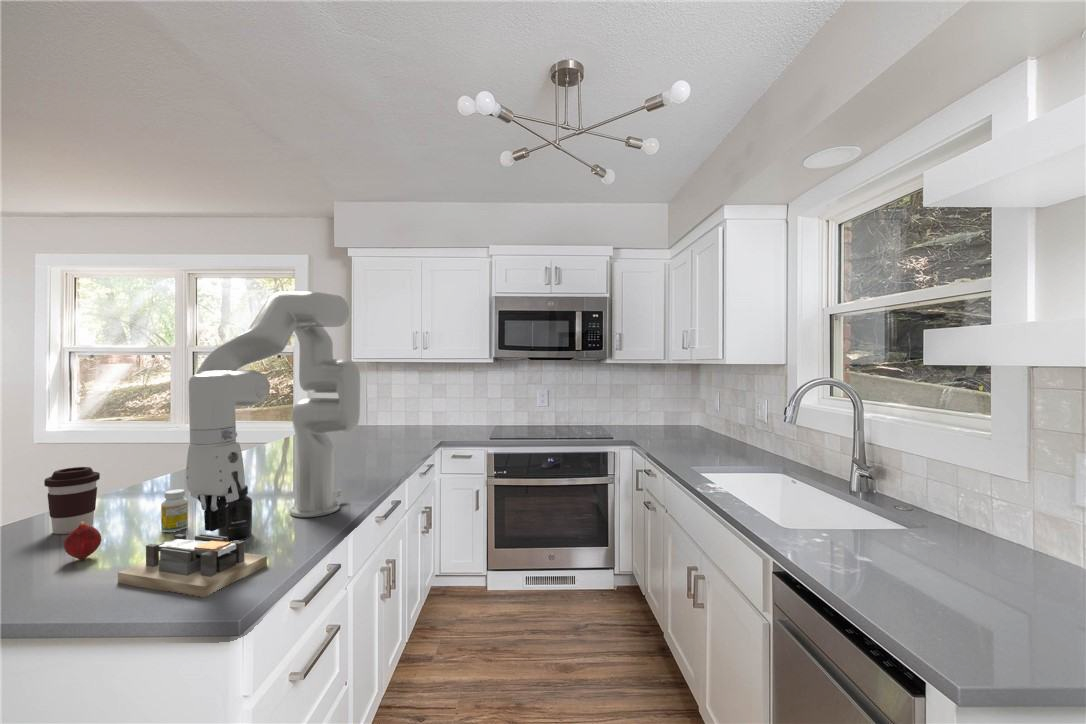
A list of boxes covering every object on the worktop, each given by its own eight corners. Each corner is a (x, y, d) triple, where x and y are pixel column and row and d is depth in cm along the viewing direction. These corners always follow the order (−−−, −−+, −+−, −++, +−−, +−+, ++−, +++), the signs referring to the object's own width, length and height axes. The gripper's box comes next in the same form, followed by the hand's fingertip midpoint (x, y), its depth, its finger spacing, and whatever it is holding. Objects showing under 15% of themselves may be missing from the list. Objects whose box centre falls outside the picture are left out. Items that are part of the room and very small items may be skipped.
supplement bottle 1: (184, 531, 121) (184, 492, 121) (158, 534, 119) (157, 495, 119) (190, 524, 126) (190, 487, 126) (165, 527, 124) (165, 489, 124)
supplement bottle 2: (236, 543, 113) (236, 491, 113) (211, 541, 115) (211, 490, 115) (259, 533, 120) (258, 484, 120) (235, 531, 122) (235, 482, 121)
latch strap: (174, 544, 102) (173, 537, 102) (236, 549, 97) (236, 542, 97) (154, 551, 98) (154, 544, 98) (218, 557, 94) (217, 549, 94)
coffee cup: (42, 540, 115) (42, 476, 115) (46, 529, 123) (46, 469, 122) (99, 530, 122) (99, 470, 121) (100, 520, 129) (100, 463, 129)
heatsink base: (188, 554, 107) (188, 526, 107) (266, 565, 102) (266, 535, 102) (117, 582, 94) (117, 550, 94) (203, 597, 88) (203, 563, 88)
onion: (107, 556, 106) (107, 519, 106) (75, 566, 101) (74, 527, 101) (90, 552, 108) (90, 516, 108) (57, 562, 103) (57, 524, 103)
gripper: (259, 434, 98) (261, 525, 99) (201, 431, 102) (203, 518, 103) (226, 442, 91) (228, 539, 91) (165, 437, 95) (167, 531, 95)
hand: (215, 528), depth 97 cm, fingers closed
